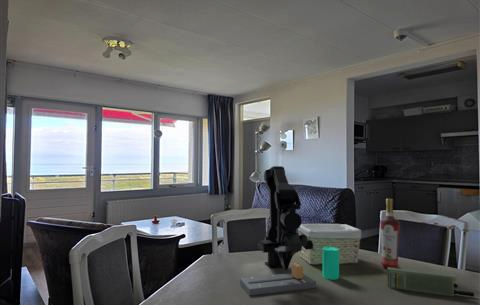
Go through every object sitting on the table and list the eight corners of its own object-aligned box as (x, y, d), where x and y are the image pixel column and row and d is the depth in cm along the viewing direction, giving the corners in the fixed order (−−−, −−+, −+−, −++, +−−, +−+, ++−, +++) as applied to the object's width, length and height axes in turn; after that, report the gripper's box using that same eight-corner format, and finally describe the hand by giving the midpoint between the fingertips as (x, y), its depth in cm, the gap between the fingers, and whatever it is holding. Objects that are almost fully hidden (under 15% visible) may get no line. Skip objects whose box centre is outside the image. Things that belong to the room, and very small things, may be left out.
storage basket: (345, 254, 150) (345, 222, 151) (363, 265, 134) (363, 229, 135) (296, 255, 147) (296, 223, 147) (308, 267, 131) (309, 230, 131)
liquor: (379, 268, 130) (378, 199, 131) (381, 263, 136) (381, 197, 137) (399, 271, 126) (398, 200, 127) (400, 266, 132) (400, 198, 133)
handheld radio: (387, 285, 112) (472, 296, 103) (388, 288, 109) (475, 300, 100) (387, 266, 112) (472, 275, 103) (388, 269, 109) (475, 279, 100)
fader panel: (239, 284, 111) (239, 277, 111) (301, 277, 118) (301, 271, 118) (249, 295, 101) (249, 288, 101) (316, 287, 108) (316, 281, 108)
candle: (339, 280, 116) (339, 246, 116) (322, 278, 117) (322, 245, 117) (338, 274, 121) (338, 242, 122) (322, 273, 123) (322, 242, 123)
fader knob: (291, 274, 113) (291, 262, 113) (297, 274, 114) (297, 262, 114) (296, 278, 109) (296, 266, 110) (303, 278, 110) (303, 265, 110)
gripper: (270, 230, 101) (269, 280, 100) (322, 227, 106) (321, 275, 106) (257, 224, 111) (257, 269, 111) (305, 221, 117) (305, 265, 116)
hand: (285, 269), depth 110 cm, fingers closed
